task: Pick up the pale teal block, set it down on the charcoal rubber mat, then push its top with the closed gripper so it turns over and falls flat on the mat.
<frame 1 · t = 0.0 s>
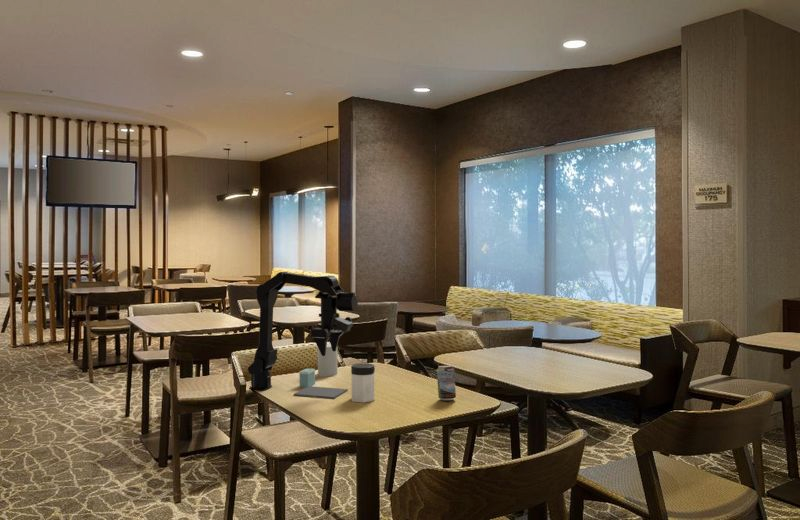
hand: (329, 353, 220), 15 cm above the table, fingers open, 9 cm apart
jar: (363, 400, 212), on the table
mat: (321, 393, 221), on the table
beverage can: (446, 400, 211), on the table
cup: (327, 374, 253), on the table
pale teal block: (307, 385, 233), on the table
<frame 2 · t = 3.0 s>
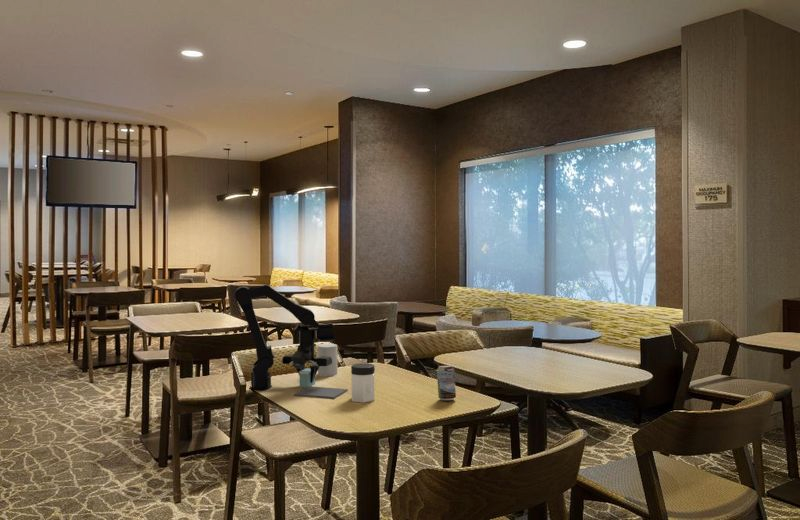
hand: (307, 382, 233), 1 cm above the table, fingers closed on pale teal block, 3 cm apart
pale teal block: (307, 385, 233), on the table, touching gripper
everything else where it was.
when the fingers open (2 cm above the table, at t = 7.2 s): pale teal block stays where it is, resting on mat.
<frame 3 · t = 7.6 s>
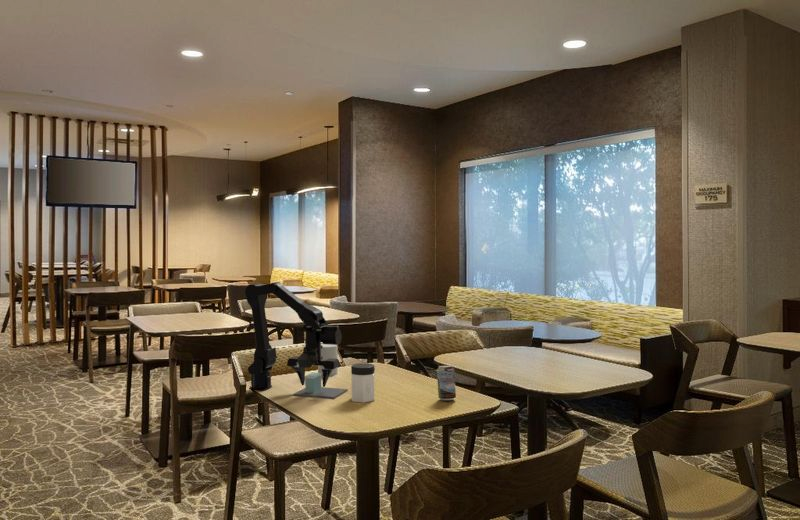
hand: (313, 385, 222), 2 cm above the table, fingers open, 8 cm apart
pale teal block: (313, 390, 222), point 1 cm above the table, touching mat
everything else where it was.
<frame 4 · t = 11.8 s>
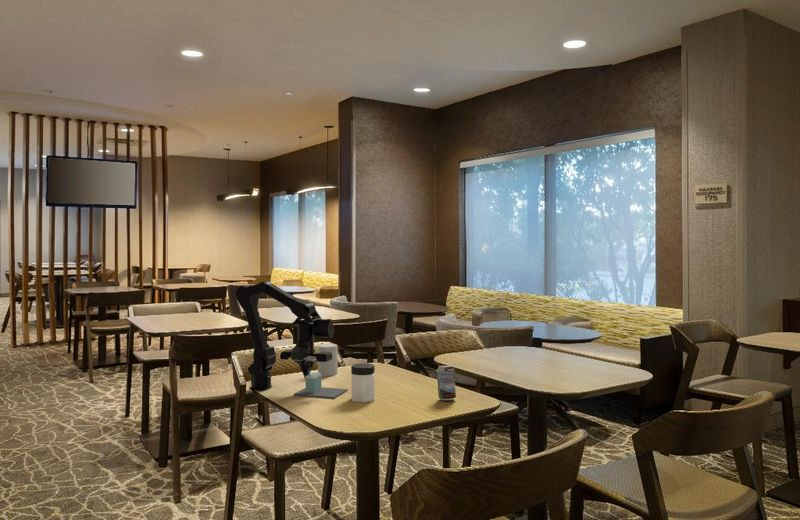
hand: (306, 378, 223), 5 cm above the table, fingers closed
pale teal block: (313, 390, 222), point 1 cm above the table, touching gripper, mat
everything else where it was.
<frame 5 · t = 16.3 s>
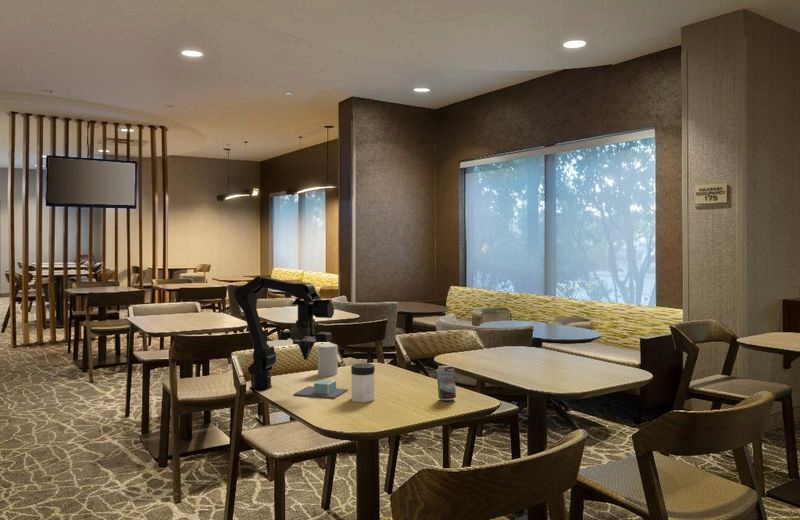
hand: (305, 359, 223), 12 cm above the table, fingers closed
pale teal block: (317, 386, 222), point 2 cm above the table, tilted 89°, touching mat
everything else where it was.
at the end: pale teal block tilted 89°; pale teal block inside the target area on the mat (2.8 cm from its centre), point 2.3 cm above the mat's base; the gripper is holding nothing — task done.
